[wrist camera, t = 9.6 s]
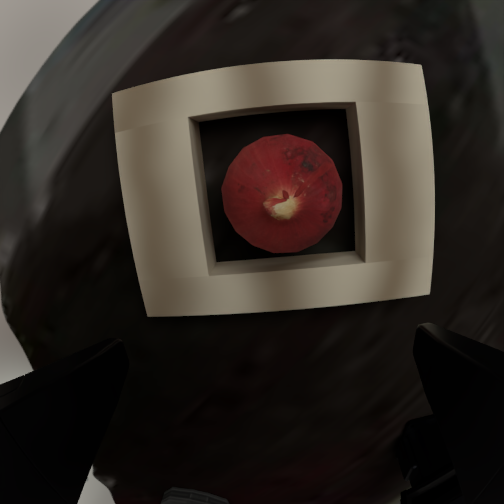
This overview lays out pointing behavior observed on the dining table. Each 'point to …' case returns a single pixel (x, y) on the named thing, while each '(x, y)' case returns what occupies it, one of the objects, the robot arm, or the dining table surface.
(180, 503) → the zipper pull
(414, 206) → the cutout board
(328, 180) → the onion
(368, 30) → the dining table surface
